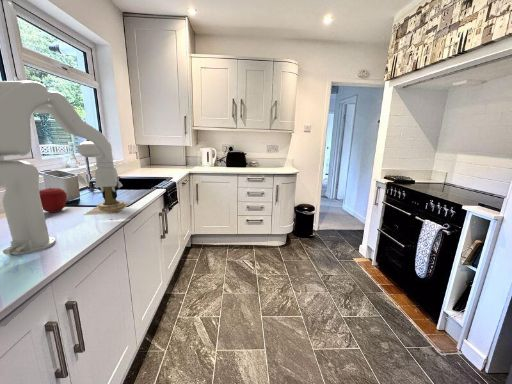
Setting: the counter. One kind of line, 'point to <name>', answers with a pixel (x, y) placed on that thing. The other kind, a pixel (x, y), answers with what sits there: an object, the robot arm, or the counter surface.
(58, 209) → the apple
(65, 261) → the counter surface
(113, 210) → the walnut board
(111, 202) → the cork
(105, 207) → the beech ring
